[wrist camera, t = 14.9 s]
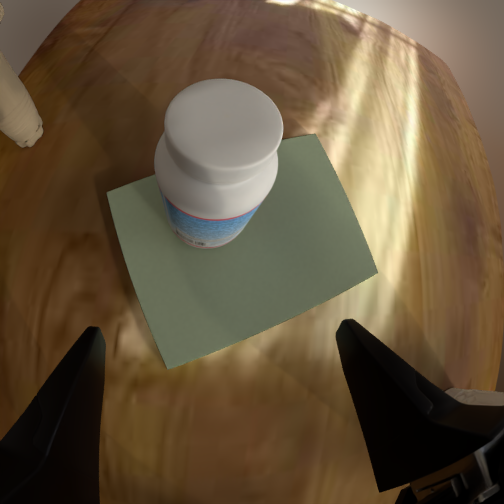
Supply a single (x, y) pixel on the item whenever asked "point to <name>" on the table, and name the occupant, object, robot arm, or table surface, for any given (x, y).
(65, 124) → the table surface
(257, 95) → the pill bottle
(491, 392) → the white cup
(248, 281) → the mat
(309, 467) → the table surface
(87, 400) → the robot arm
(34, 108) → the handle
